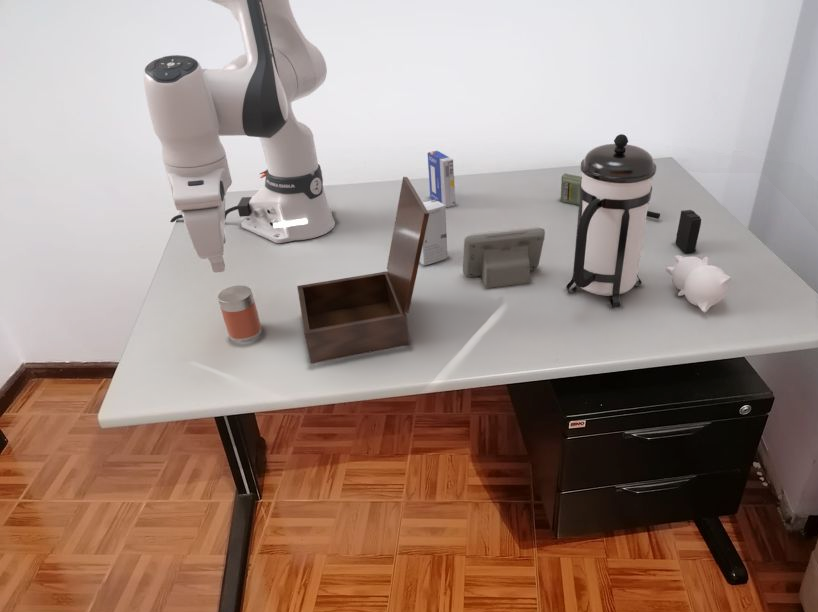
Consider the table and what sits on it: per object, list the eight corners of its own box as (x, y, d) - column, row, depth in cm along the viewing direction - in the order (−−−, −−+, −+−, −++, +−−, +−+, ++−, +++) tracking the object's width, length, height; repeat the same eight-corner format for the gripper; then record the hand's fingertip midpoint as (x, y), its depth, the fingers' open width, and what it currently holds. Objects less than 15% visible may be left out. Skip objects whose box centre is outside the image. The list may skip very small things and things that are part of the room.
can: (223, 340, 113) (210, 297, 108) (246, 324, 117) (234, 282, 112) (247, 349, 111) (234, 305, 106) (269, 332, 115) (258, 289, 110)
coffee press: (553, 272, 130) (562, 123, 112) (630, 267, 131) (651, 119, 113) (570, 318, 116) (584, 157, 98) (656, 313, 117) (686, 152, 99)
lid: (424, 213, 96) (429, 213, 97) (403, 176, 109) (407, 177, 109) (404, 312, 105) (408, 313, 106) (386, 268, 118) (390, 268, 118)
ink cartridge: (695, 253, 135) (702, 218, 130) (685, 254, 135) (692, 219, 130) (684, 242, 139) (691, 208, 134) (675, 243, 139) (681, 209, 134)
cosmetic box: (424, 266, 133) (420, 213, 126) (413, 258, 136) (409, 205, 129) (449, 258, 136) (446, 205, 129) (438, 250, 139) (435, 198, 132)
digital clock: (540, 265, 132) (543, 218, 126) (544, 287, 125) (547, 238, 119) (463, 266, 133) (461, 219, 126) (462, 289, 126) (460, 240, 119)
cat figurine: (680, 240, 120) (720, 267, 110) (715, 259, 125) (756, 287, 116) (653, 279, 123) (689, 309, 113) (688, 296, 128) (726, 326, 119)
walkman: (430, 197, 162) (427, 151, 155) (439, 195, 163) (437, 149, 156) (445, 208, 157) (443, 160, 150) (455, 205, 158) (453, 158, 151)
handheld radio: (564, 197, 160) (661, 218, 149) (558, 202, 158) (656, 224, 147) (566, 171, 156) (665, 191, 145) (560, 176, 154) (660, 197, 143)
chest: (311, 367, 106) (304, 333, 102) (303, 317, 119) (297, 285, 115) (409, 348, 110) (406, 315, 106) (392, 302, 122) (388, 270, 118)
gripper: (181, 152, 103) (202, 229, 112) (172, 205, 88) (196, 289, 96) (222, 149, 105) (239, 225, 113) (219, 200, 89) (240, 284, 98)
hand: (220, 255), depth 105 cm, fingers open, 8 cm apart
